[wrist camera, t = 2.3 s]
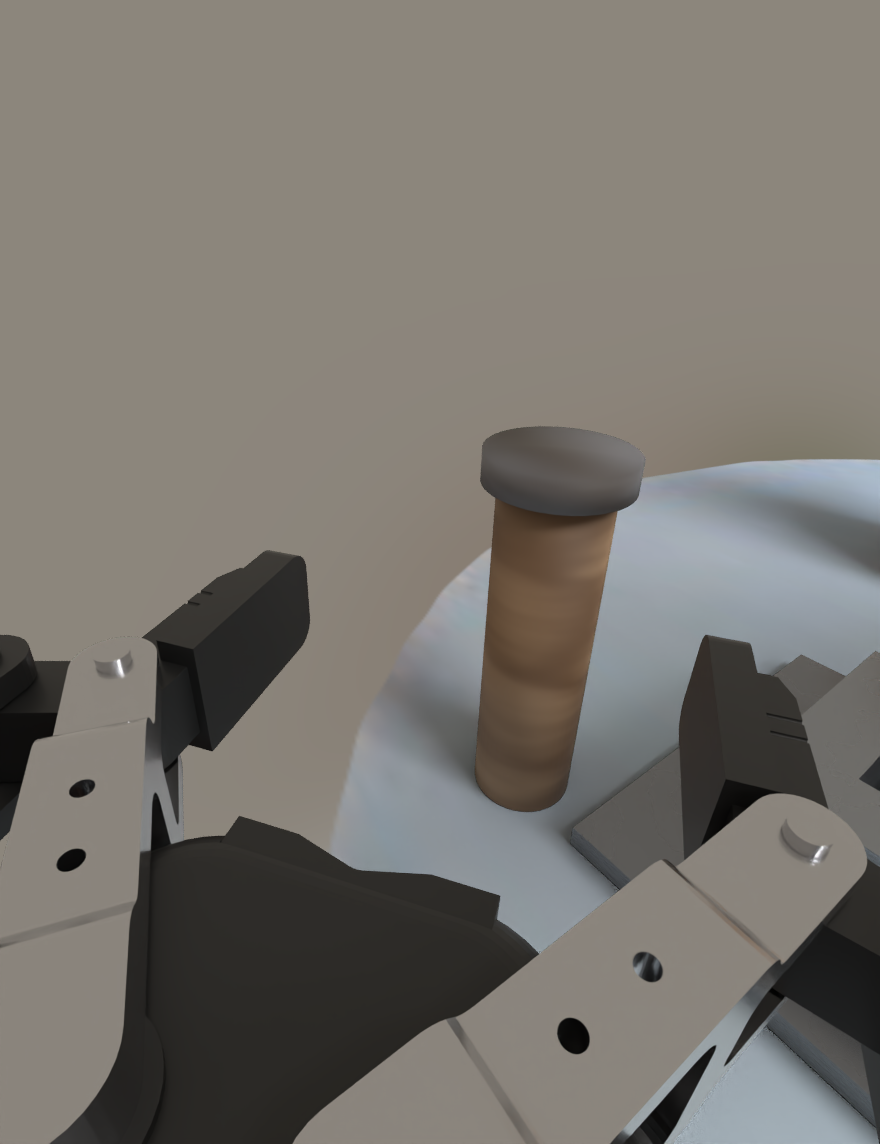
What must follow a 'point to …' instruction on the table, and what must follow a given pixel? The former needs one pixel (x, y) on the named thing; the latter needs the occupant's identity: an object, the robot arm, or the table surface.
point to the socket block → (853, 792)
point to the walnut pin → (544, 600)
